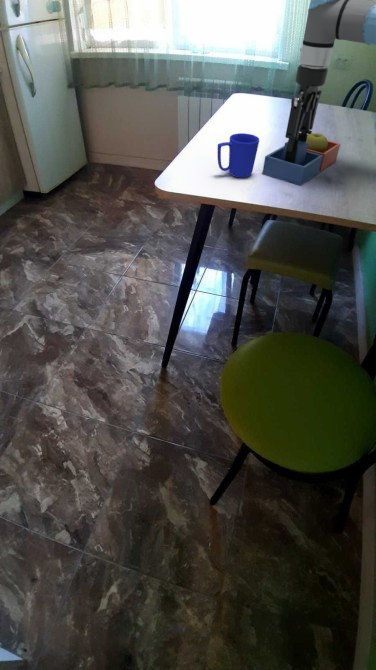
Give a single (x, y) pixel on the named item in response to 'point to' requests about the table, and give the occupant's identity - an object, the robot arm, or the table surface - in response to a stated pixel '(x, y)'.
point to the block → (298, 152)
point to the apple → (317, 142)
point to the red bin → (328, 154)
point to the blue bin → (292, 167)
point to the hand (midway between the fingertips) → (293, 159)
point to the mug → (240, 154)
